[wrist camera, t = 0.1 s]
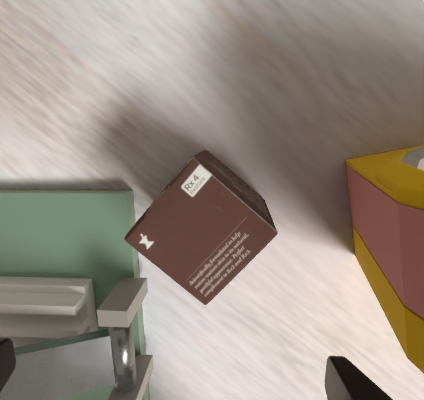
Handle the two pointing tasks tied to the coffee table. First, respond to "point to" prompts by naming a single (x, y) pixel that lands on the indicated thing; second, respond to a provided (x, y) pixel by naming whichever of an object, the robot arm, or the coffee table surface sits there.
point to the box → (203, 227)
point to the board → (71, 272)
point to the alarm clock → (392, 237)
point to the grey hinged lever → (73, 366)
